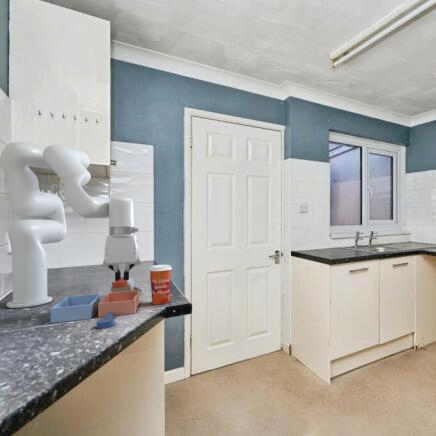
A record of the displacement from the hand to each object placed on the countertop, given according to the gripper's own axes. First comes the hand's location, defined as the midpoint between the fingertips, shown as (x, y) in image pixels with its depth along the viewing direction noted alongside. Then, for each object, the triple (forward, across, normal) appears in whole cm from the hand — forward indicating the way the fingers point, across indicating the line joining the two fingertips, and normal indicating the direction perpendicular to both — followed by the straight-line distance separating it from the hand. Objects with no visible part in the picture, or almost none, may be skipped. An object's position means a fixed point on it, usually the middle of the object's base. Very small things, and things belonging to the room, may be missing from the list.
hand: (122, 282), depth 113 cm
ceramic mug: (+9, +1, -19) cm, 21 cm away
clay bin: (+9, 0, +2) cm, 9 cm away
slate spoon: (+9, +2, +17) cm, 20 cm away
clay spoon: (0, 0, +2) cm, 2 cm away
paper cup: (+9, -12, -1) cm, 15 cm away
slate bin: (+9, +12, +2) cm, 15 cm away
